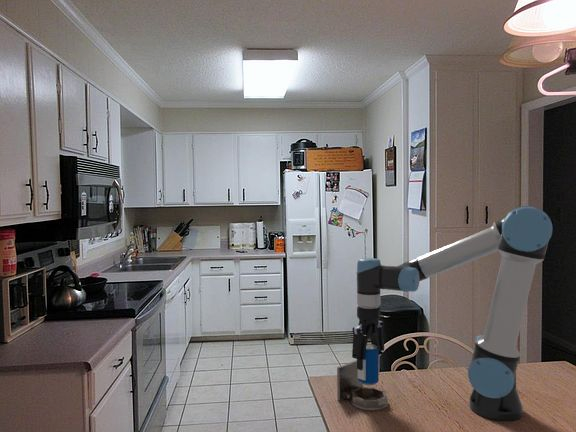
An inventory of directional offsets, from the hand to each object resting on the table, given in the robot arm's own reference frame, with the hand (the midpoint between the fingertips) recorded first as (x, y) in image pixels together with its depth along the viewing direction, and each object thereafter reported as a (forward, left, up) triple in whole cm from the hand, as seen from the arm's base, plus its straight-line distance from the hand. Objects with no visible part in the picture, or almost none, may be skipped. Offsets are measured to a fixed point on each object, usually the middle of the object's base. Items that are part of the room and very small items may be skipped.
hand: (368, 376), depth 148 cm
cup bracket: (+1, 0, -9) cm, 9 cm away
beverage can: (0, 0, -2) cm, 2 cm away
